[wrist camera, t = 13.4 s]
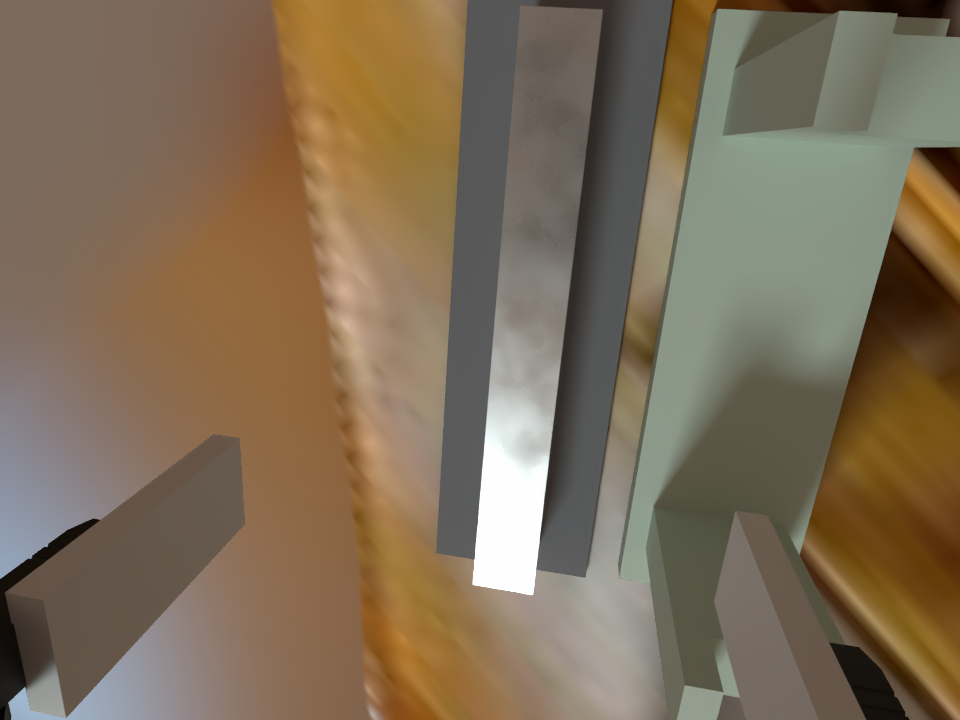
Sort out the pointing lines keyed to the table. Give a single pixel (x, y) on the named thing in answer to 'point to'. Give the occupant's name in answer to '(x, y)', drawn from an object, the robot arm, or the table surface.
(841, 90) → the notched post rack
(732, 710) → the table surface
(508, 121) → the rubber mat
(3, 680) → the robot arm
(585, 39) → the steel rail
